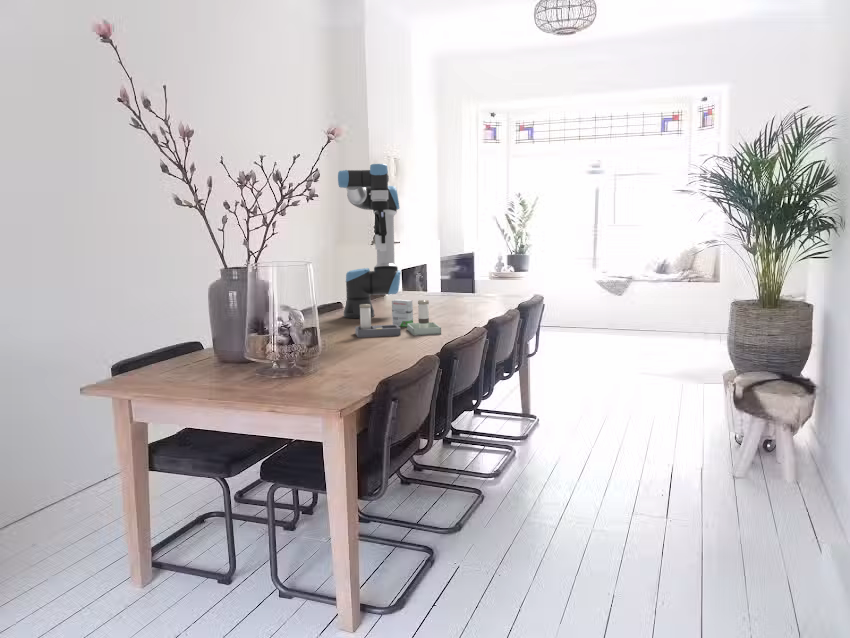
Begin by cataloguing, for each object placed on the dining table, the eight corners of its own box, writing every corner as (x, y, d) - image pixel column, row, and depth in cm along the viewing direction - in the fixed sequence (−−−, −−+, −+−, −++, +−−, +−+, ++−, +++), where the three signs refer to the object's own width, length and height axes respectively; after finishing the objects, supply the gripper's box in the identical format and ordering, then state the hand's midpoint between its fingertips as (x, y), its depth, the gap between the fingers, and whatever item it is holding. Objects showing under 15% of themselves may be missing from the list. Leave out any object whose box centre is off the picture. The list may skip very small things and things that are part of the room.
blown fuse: (417, 330, 305) (417, 300, 303) (428, 329, 306) (427, 299, 304) (419, 331, 300) (419, 301, 298) (430, 331, 301) (429, 301, 299)
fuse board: (355, 333, 302) (355, 326, 302) (396, 331, 306) (396, 323, 305) (357, 337, 293) (357, 330, 292) (400, 335, 296) (400, 327, 296)
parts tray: (407, 329, 309) (407, 323, 308) (434, 328, 311) (433, 322, 311) (413, 335, 295) (413, 328, 295) (441, 333, 298) (441, 327, 297)
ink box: (413, 325, 319) (413, 299, 317) (408, 327, 315) (407, 301, 313) (397, 324, 324) (397, 298, 322) (391, 326, 319) (391, 300, 317)
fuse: (360, 334, 300) (359, 304, 298) (370, 333, 301) (369, 303, 299) (361, 336, 295) (360, 305, 293) (372, 335, 296) (371, 305, 294)
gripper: (367, 201, 314) (368, 248, 317) (374, 200, 290) (376, 252, 293) (383, 200, 315) (385, 248, 319) (392, 200, 291) (394, 251, 295)
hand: (380, 250), depth 306 cm, fingers open, 13 cm apart
